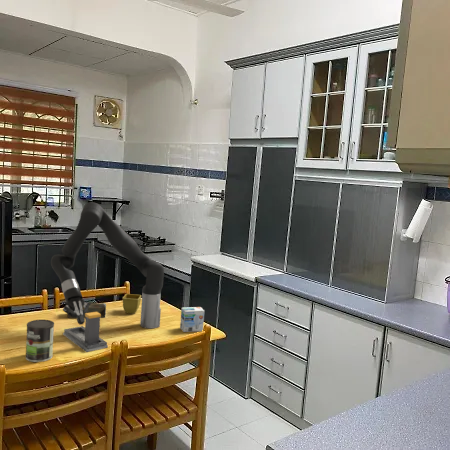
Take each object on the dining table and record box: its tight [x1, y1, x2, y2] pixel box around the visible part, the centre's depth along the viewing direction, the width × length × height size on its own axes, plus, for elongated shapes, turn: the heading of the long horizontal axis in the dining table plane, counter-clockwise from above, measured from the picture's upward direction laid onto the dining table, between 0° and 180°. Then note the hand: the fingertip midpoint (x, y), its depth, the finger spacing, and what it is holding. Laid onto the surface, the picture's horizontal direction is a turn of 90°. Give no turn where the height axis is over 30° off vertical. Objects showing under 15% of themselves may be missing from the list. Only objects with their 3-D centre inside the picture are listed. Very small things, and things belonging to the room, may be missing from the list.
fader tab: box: [84, 312, 101, 344], centre depth 200 cm, size 4×5×13 cm
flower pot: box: [122, 293, 142, 315], centre depth 252 cm, size 9×9×9 cm
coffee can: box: [25, 319, 55, 363], centre depth 185 cm, size 10×10×14 cm
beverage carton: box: [67, 302, 107, 319], centre depth 240 cm, size 8×19×7 cm, turn 106°
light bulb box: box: [179, 306, 205, 333], centre depth 232 cm, size 11×7×11 cm, turn 112°
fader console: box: [62, 325, 109, 353], centre depth 206 cm, size 24×10×2 cm, turn 42°
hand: (81, 323), depth 208 cm, fingers closed
